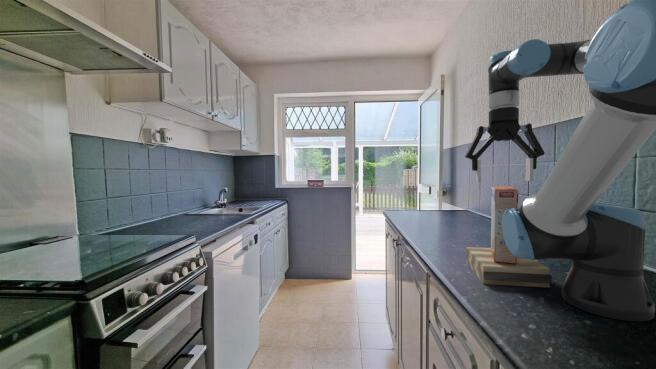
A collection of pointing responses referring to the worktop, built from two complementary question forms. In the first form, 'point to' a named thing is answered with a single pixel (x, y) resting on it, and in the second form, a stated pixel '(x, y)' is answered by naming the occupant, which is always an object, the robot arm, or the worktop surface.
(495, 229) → the cracker box
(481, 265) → the dock
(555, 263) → the worktop surface
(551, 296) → the worktop surface
